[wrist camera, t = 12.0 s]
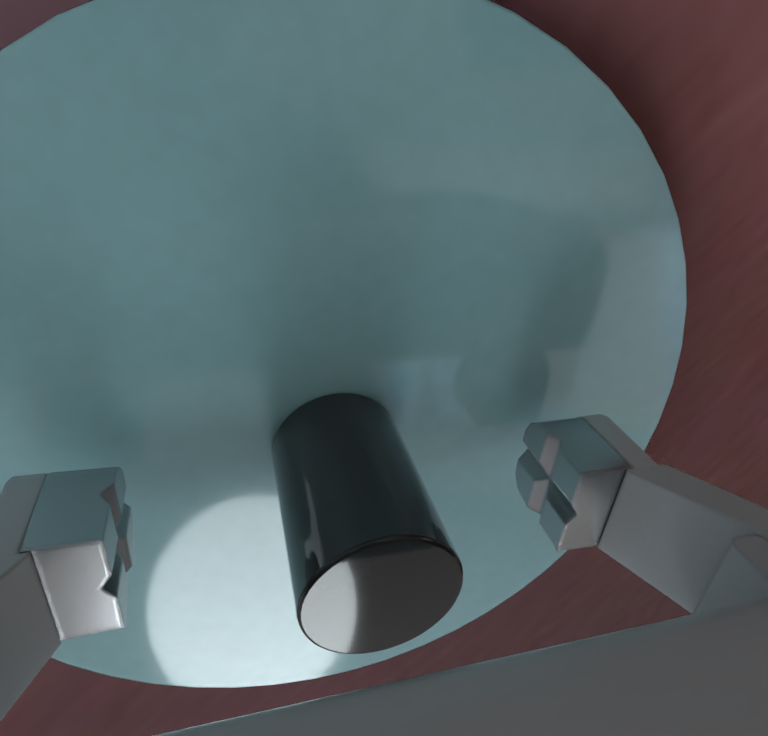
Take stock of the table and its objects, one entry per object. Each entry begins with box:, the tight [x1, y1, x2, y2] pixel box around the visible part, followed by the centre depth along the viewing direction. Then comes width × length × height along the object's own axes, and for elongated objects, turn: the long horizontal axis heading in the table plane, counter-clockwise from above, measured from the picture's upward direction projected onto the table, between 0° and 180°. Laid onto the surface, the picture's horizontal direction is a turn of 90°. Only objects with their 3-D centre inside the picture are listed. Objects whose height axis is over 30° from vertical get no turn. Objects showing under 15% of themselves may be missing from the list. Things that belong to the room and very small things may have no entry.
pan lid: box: [0, 0, 687, 688], centre depth 10 cm, size 15×15×5 cm
